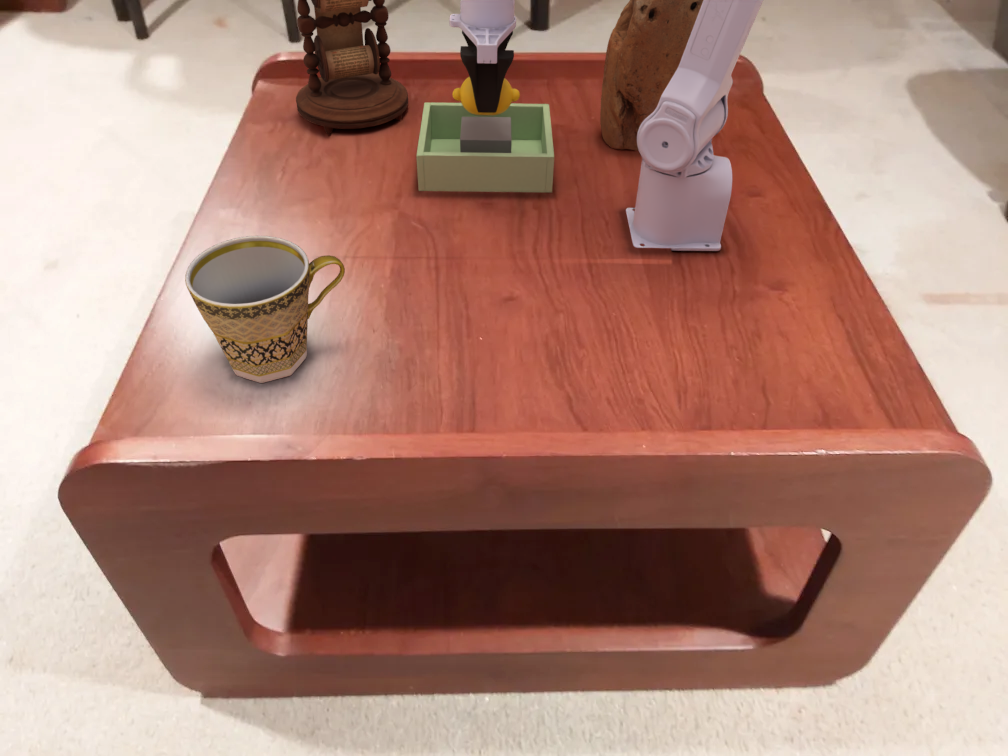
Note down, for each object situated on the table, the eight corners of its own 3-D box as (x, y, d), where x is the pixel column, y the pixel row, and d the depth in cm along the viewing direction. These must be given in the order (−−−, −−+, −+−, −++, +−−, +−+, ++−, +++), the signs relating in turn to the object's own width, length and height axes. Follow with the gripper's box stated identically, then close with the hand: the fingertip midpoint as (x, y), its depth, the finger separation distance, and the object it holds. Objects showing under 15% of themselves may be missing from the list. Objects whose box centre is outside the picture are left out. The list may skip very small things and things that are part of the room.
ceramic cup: (222, 409, 70) (194, 318, 63) (204, 339, 77) (176, 249, 70) (369, 369, 74) (357, 279, 67) (340, 306, 80) (326, 218, 74)
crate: (547, 141, 106) (549, 103, 102) (551, 196, 96) (554, 156, 93) (426, 140, 106) (424, 102, 102) (418, 195, 96) (416, 155, 92)
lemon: (518, 105, 96) (520, 67, 93) (519, 122, 92) (521, 84, 89) (453, 104, 95) (452, 67, 92) (452, 121, 92) (451, 83, 89)
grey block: (510, 150, 103) (511, 117, 100) (510, 175, 98) (511, 140, 95) (462, 150, 103) (461, 116, 100) (460, 174, 98) (460, 139, 95)
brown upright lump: (669, 125, 110) (695, -35, 96) (691, 151, 105) (722, -14, 91) (592, 132, 108) (607, -30, 94) (610, 159, 103) (629, -8, 89)
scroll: (389, 83, 118) (377, -70, 104) (424, 127, 108) (415, -35, 95) (287, 100, 114) (260, -58, 100) (314, 147, 104) (288, -20, 90)
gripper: (450, -49, 89) (453, 74, 98) (445, -3, 78) (449, 130, 88) (515, -48, 89) (512, 74, 98) (519, -2, 78) (515, 131, 88)
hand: (487, 101), depth 93 cm, fingers closed on lemon, 4 cm apart
